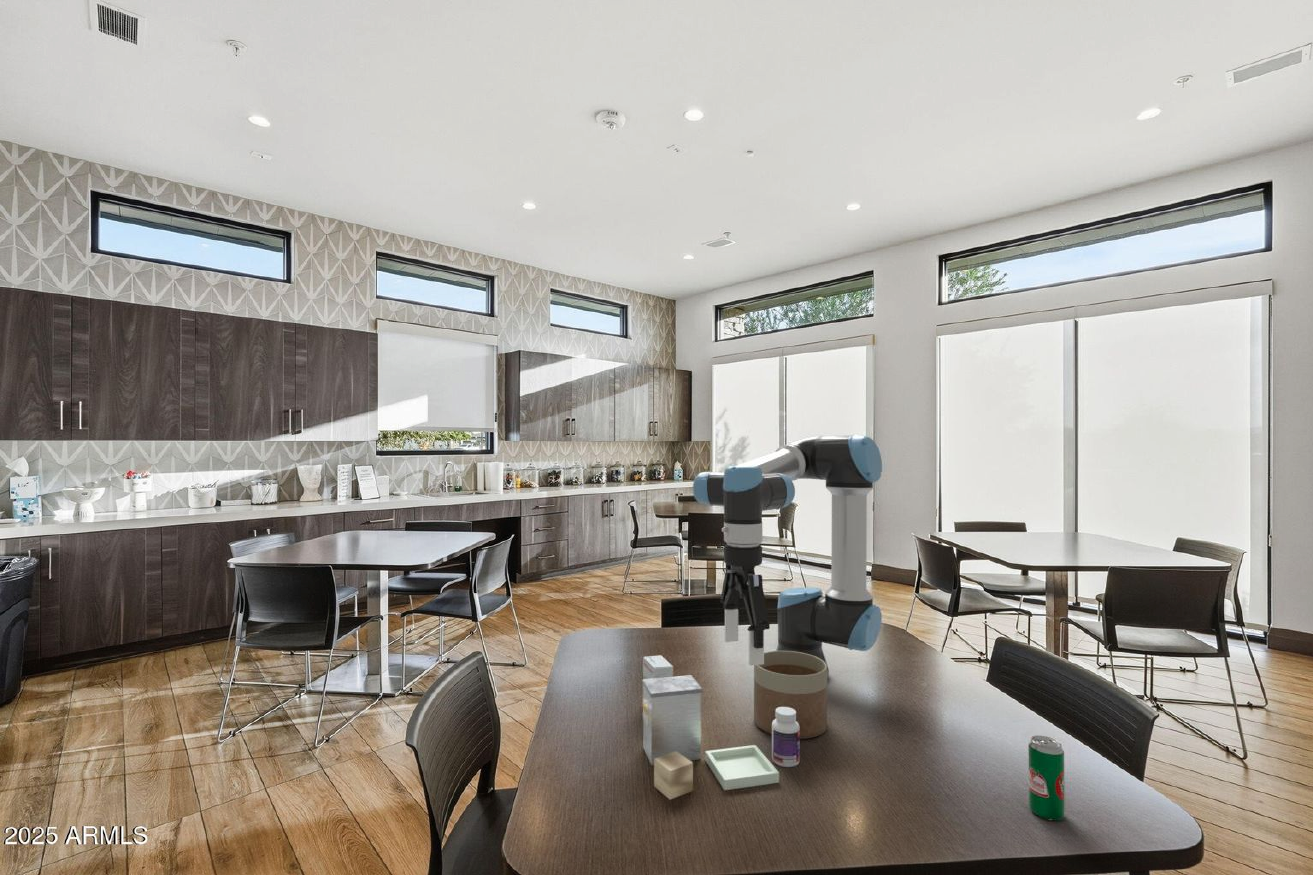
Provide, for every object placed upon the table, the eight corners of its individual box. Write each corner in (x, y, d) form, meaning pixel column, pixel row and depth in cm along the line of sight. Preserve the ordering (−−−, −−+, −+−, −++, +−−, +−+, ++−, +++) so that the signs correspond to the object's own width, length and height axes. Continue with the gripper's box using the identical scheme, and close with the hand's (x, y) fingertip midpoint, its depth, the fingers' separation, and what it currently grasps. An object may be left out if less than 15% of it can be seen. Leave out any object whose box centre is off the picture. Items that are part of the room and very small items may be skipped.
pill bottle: (804, 766, 115) (804, 715, 115) (777, 769, 114) (777, 717, 114) (793, 752, 120) (793, 703, 120) (767, 754, 119) (767, 705, 120)
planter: (747, 734, 128) (747, 669, 128) (760, 705, 143) (760, 647, 143) (824, 747, 122) (824, 679, 123) (829, 715, 137) (829, 655, 138)
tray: (755, 753, 120) (755, 744, 120) (778, 782, 109) (779, 772, 109) (705, 760, 117) (705, 751, 117) (724, 790, 107) (724, 780, 107)
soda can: (1021, 805, 103) (1021, 734, 103) (1049, 803, 103) (1049, 733, 103) (1043, 823, 98) (1042, 749, 98) (1072, 821, 98) (1071, 748, 98)
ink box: (674, 718, 135) (674, 665, 136) (654, 721, 134) (654, 668, 134) (661, 703, 144) (661, 653, 144) (641, 706, 142) (641, 656, 142)
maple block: (676, 778, 111) (676, 751, 111) (692, 791, 107) (692, 762, 107) (654, 786, 108) (654, 758, 108) (670, 800, 104) (670, 771, 104)
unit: (692, 741, 125) (692, 674, 125) (703, 759, 118) (704, 688, 118) (640, 747, 122) (640, 679, 122) (648, 766, 115) (649, 693, 115)
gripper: (705, 535, 129) (706, 633, 129) (748, 556, 105) (748, 677, 105) (738, 534, 131) (738, 631, 131) (787, 554, 107) (788, 673, 106)
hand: (743, 652), depth 118 cm, fingers open, 13 cm apart
